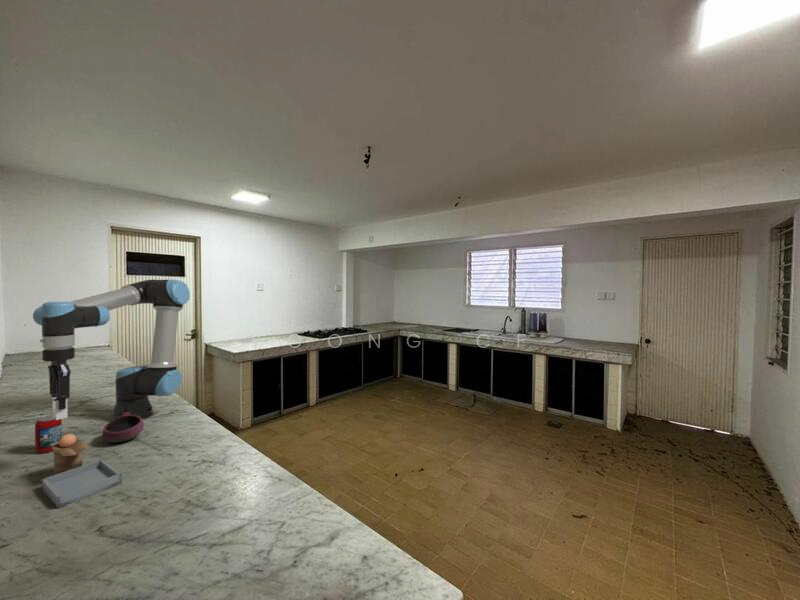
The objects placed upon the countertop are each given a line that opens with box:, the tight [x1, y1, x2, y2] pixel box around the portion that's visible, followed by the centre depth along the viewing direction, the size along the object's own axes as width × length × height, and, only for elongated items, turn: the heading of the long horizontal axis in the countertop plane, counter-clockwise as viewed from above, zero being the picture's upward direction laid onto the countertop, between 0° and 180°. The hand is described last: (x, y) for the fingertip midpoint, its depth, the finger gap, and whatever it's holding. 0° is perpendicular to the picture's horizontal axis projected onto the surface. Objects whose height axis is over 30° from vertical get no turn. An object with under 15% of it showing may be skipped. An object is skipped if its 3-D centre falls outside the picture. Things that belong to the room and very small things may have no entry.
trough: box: [52, 437, 90, 475], centre depth 106 cm, size 6×11×10 cm, turn 58°
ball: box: [59, 433, 77, 447], centre depth 107 cm, size 4×4×4 cm
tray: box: [41, 458, 123, 509], centre depth 100 cm, size 14×16×3 cm
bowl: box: [101, 412, 145, 443], centre depth 132 cm, size 16×13×8 cm
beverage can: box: [34, 414, 63, 454], centre depth 122 cm, size 7×7×12 cm
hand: (59, 417), depth 111 cm, fingers open, 3 cm apart
